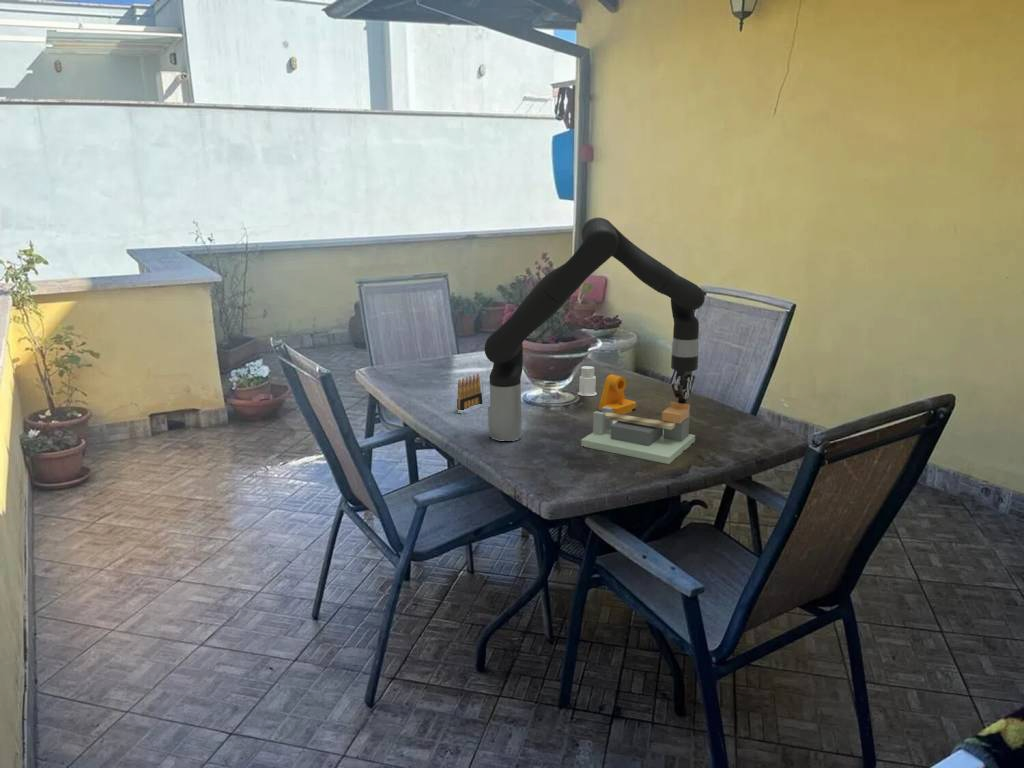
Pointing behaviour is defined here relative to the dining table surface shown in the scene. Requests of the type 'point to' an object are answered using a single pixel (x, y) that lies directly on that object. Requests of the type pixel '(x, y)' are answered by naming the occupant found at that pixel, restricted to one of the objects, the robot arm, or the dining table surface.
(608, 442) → the board
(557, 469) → the dining table surface
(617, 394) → the bracket
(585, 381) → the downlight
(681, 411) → the block
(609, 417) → the strap
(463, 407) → the ammunition clip
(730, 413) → the dining table surface
